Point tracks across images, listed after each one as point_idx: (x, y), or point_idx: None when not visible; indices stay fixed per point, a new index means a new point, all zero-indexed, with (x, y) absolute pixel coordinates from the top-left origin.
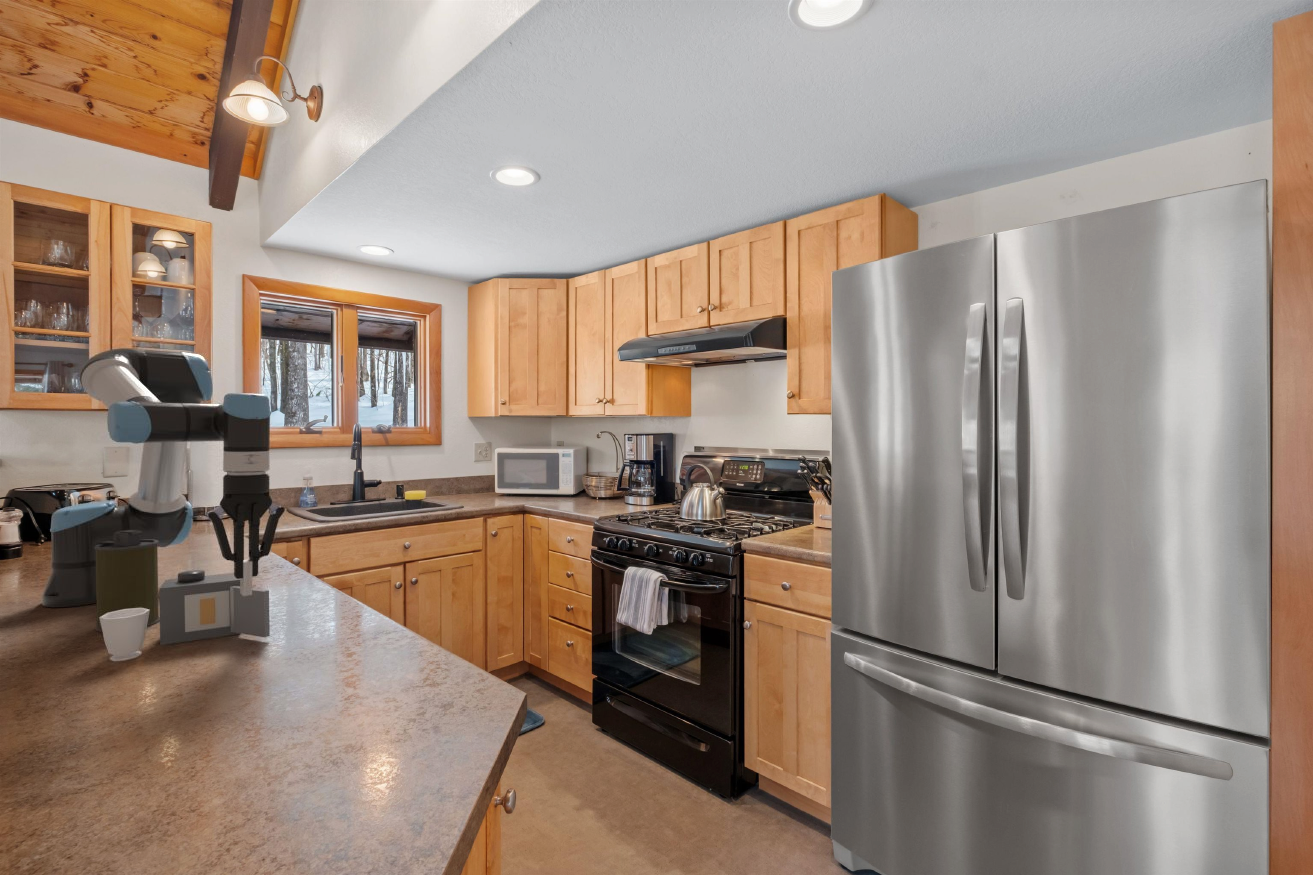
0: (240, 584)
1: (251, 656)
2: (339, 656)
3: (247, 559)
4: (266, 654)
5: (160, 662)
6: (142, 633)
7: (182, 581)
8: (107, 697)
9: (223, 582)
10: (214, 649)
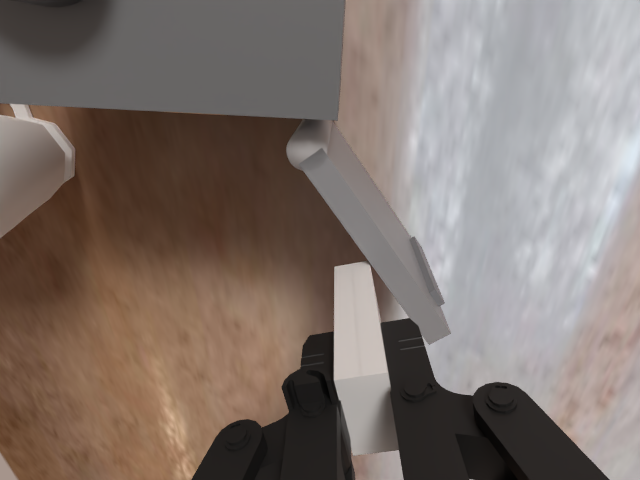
0: (335, 291)
1: None
2: None
3: (379, 379)
4: None
5: (151, 263)
6: (42, 190)
7: None
8: (110, 422)
9: (247, 113)
10: (269, 229)
